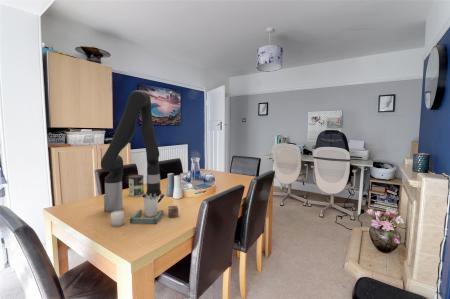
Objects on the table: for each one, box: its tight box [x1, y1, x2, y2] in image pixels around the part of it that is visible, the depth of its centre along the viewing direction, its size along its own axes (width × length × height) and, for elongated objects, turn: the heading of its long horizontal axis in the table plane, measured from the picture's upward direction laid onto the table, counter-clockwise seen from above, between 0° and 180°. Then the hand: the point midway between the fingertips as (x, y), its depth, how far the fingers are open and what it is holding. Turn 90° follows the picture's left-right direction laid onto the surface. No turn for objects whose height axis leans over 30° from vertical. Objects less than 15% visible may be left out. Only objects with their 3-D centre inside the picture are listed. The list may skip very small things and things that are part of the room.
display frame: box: [129, 209, 165, 225], centre depth 122 cm, size 14×12×2 cm
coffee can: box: [128, 174, 145, 198], centre depth 164 cm, size 10×10×14 cm
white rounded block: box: [110, 210, 125, 227], centre depth 114 cm, size 6×6×6 cm
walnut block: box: [167, 205, 179, 219], centre depth 126 cm, size 5×5×5 cm
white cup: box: [143, 196, 159, 218], centre depth 127 cm, size 8×8×10 cm
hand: (154, 209), depth 132 cm, fingers closed
